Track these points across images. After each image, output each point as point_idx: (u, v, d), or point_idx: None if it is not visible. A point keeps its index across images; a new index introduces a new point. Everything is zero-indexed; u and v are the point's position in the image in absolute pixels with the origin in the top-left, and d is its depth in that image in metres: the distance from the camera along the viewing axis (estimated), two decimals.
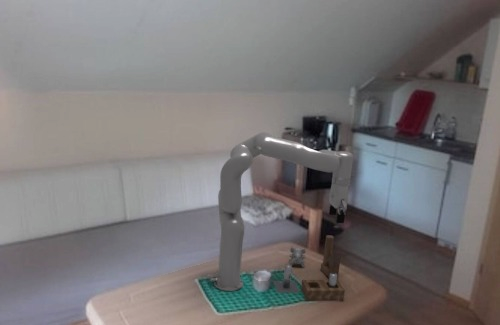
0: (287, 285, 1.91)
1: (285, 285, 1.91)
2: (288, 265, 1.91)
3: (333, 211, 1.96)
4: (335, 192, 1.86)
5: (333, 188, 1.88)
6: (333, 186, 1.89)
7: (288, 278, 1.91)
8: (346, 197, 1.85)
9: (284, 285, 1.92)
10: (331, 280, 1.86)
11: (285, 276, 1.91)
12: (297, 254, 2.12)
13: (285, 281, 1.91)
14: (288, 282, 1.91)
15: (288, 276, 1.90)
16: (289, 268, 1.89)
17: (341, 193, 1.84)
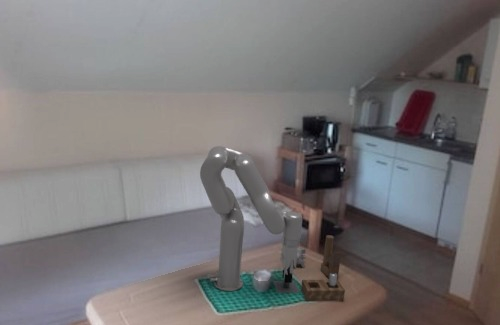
0: (287, 285, 1.91)
1: (285, 285, 1.91)
2: None
3: None
4: (285, 253, 1.86)
5: (283, 248, 1.89)
6: (283, 245, 1.89)
7: None
8: (295, 258, 1.85)
9: (284, 285, 1.92)
10: (331, 280, 1.86)
11: None
12: (297, 254, 2.12)
13: None
14: None
15: None
16: None
17: (290, 254, 1.84)
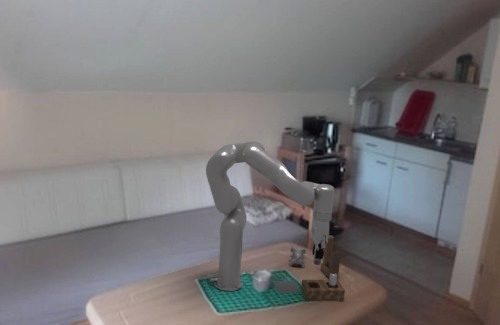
0: (318, 261, 1.83)
1: (316, 261, 1.83)
2: None
3: None
4: (316, 227, 1.78)
5: (314, 222, 1.80)
6: (314, 220, 1.81)
7: None
8: (327, 232, 1.76)
9: (314, 261, 1.83)
10: (331, 280, 1.86)
11: None
12: (297, 254, 2.12)
13: None
14: None
15: None
16: None
17: (322, 228, 1.76)
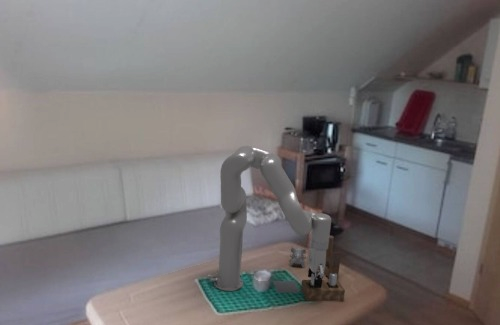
0: None
1: None
2: None
3: None
4: (313, 256, 1.81)
5: (311, 251, 1.83)
6: (311, 248, 1.83)
7: None
8: (324, 261, 1.79)
9: None
10: (331, 280, 1.86)
11: (312, 285, 1.86)
12: (297, 254, 2.11)
13: None
14: None
15: None
16: None
17: (319, 258, 1.78)
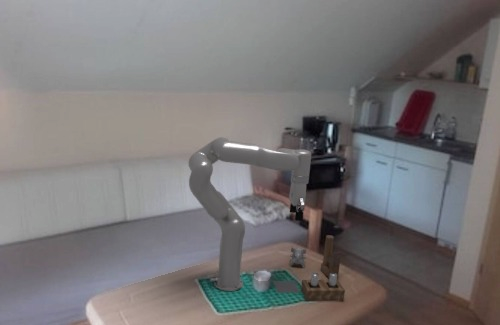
0: None
1: None
2: (315, 274, 1.86)
3: (293, 209, 1.97)
4: (293, 190, 1.88)
5: (292, 186, 1.90)
6: (292, 184, 1.90)
7: (315, 287, 1.85)
8: (304, 195, 1.86)
9: None
10: (331, 280, 1.86)
11: (312, 285, 1.86)
12: (297, 254, 2.11)
13: None
14: None
15: (315, 285, 1.85)
16: (316, 277, 1.84)
17: (299, 191, 1.85)
